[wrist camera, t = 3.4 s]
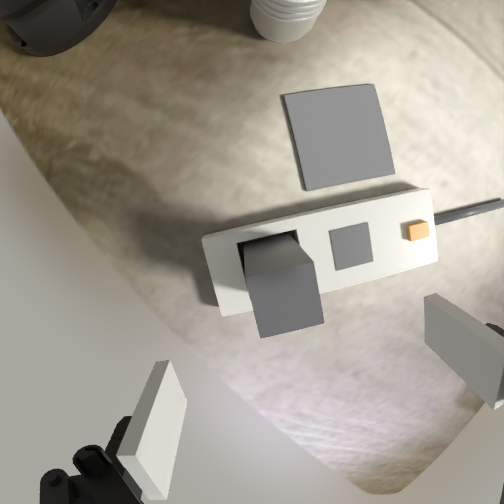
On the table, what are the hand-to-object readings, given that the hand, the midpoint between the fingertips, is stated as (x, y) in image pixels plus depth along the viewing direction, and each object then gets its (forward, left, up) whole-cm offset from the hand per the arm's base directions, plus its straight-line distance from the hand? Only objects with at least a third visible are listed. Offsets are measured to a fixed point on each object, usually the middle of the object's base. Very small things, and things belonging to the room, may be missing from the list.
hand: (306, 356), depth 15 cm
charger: (0, 0, -19) cm, 19 cm away
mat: (+10, +11, -19) cm, 24 cm away
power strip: (+13, 0, -19) cm, 23 cm away
